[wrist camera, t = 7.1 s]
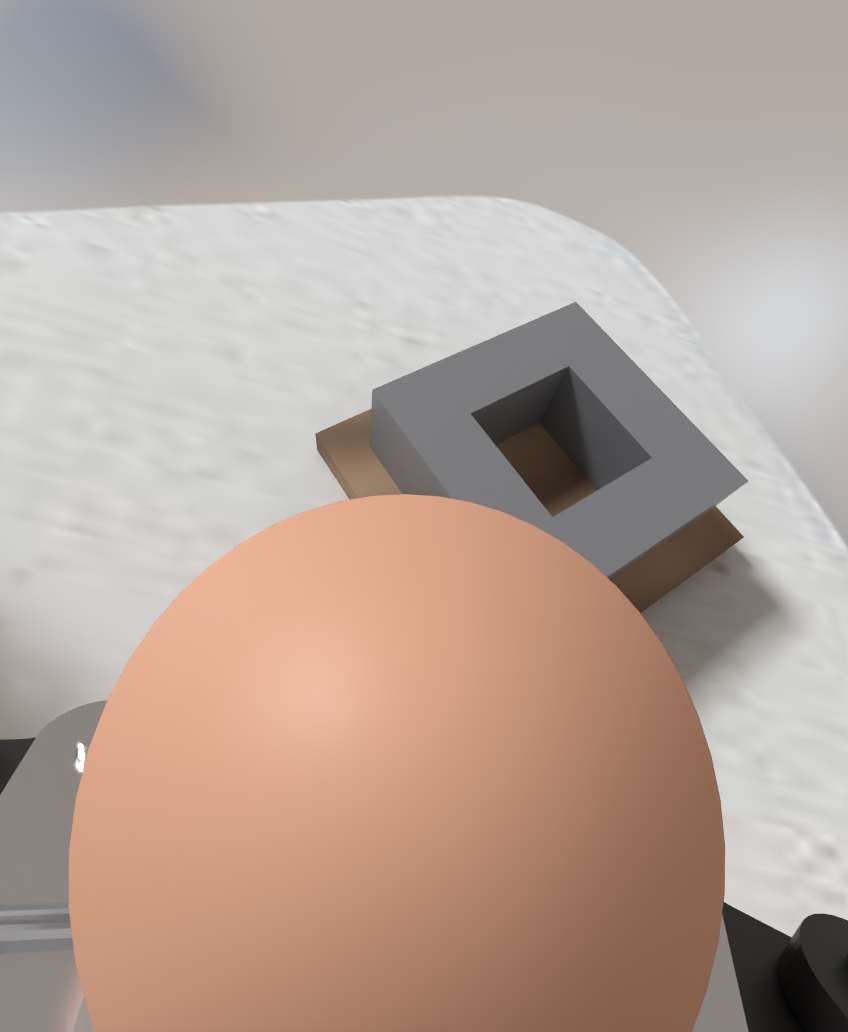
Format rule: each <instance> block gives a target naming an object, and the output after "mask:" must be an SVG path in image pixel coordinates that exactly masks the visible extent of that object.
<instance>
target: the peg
mask: <svg viewBox="0 0 848 1032" xmlns="http://www.w3.org/2000/svg"><path fill="white" fill-rule="evenodd" d="M724 891H725V841H724V831H723V821H722V811H721V801H720V796H719V791H718V786H717V781H716V776H715V771H714V767H713V762H712V757H711V754H710V751H709V747H708V744H707V741H706V738H705V735H704V732H703V729H702V725H701V722H700V719H699V716H698V714H697V711H696V709H695V707H694V705H693V702H692V700H691V698H690V695H689V693H688V691H687V689H686V686H685V684H684V682H683V679H682V677H681V676H680V674H679V672H678V670H677V669H676V667H675V665H674V663H673V662H672V660H671V658H670V656H669V655H668V653H667V651H666V649H665V648H664V646H663V644H662V643H661V641H660V640H659V638H658V637H657V636H656V634H655V633H654V631H653V630H652V629H651V627H650V626H649V624H648V623H647V622H646V620H645V619H644V617H643V616H642V615H641V613H640V612H639V611H638V610H637V609H636V608H635V607H634V605H633V604H632V603H631V602H630V601H629V600H628V599H627V598H626V596H625V595H624V594H623V593H622V592H621V591H620V590H619V589H618V587H617V586H616V585H615V584H613V583H612V582H611V581H610V580H609V579H608V578H607V577H606V576H605V575H604V574H602V573H601V572H600V571H599V570H598V569H597V568H596V567H595V566H594V565H593V564H591V563H590V562H589V561H588V560H586V559H585V558H584V557H582V556H581V555H580V554H578V553H577V552H575V551H574V550H573V549H571V548H570V547H569V546H567V545H566V544H564V543H563V542H562V541H560V540H558V539H556V538H555V537H553V536H551V535H549V534H548V533H546V532H544V531H542V530H541V529H539V528H537V527H535V526H534V525H532V524H529V523H527V522H525V521H522V520H520V519H518V518H515V517H513V516H511V515H508V514H506V513H504V512H501V511H498V510H495V509H491V508H488V507H485V506H481V505H478V504H475V503H472V502H467V501H461V500H456V499H450V498H445V497H439V496H425V495H410V494H400V495H381V496H369V497H363V498H357V499H351V500H346V501H340V502H336V503H333V504H329V505H326V506H322V507H319V508H315V509H312V510H309V511H305V512H303V513H301V514H298V515H296V516H294V517H291V518H289V519H286V520H284V521H282V522H279V523H277V524H275V525H272V526H271V527H269V528H267V529H265V530H264V531H262V532H260V533H258V534H257V535H255V536H253V537H251V538H250V539H248V540H246V541H244V542H243V543H241V544H239V545H238V546H237V547H235V548H234V549H233V550H231V551H230V552H228V553H227V554H226V555H224V556H223V557H222V558H220V559H219V560H218V561H216V562H215V563H213V564H212V565H211V566H209V567H208V568H207V569H206V570H205V571H204V572H203V573H202V574H201V575H200V576H199V577H197V578H196V579H195V580H194V581H193V582H192V583H191V584H190V585H189V586H188V587H187V588H186V589H185V590H183V591H182V592H181V593H180V594H179V595H178V597H177V598H176V599H175V600H174V601H173V602H172V604H171V605H170V606H169V607H168V608H167V609H166V610H165V612H164V613H163V614H162V615H161V616H160V617H159V619H158V620H157V621H156V622H155V623H154V624H153V626H152V627H151V629H150V630H149V631H148V633H147V634H146V636H145V637H144V639H143V640H142V642H141V643H140V645H139V646H138V648H137V649H136V651H135V652H134V654H133V655H132V657H131V658H130V659H129V661H128V662H127V664H126V666H125V668H124V670H123V672H122V674H121V676H120V678H119V680H118V682H117V683H116V685H115V687H114V689H113V691H112V693H111V695H110V697H109V699H108V701H107V703H106V705H105V707H104V710H103V713H102V715H101V718H100V720H99V723H98V726H97V728H96V731H95V733H94V736H93V739H92V741H91V744H90V746H89V749H88V753H87V757H86V761H85V765H84V769H83V772H82V776H81V780H80V784H79V788H78V792H77V796H76V801H75V809H74V816H73V824H72V832H71V839H70V847H69V914H70V922H71V930H72V939H73V947H74V955H75V963H76V967H77V970H78V974H79V978H80V982H81V986H82V989H83V993H84V997H85V1001H86V1005H87V1008H88V1012H89V1016H90V1019H91V1022H92V1024H93V1026H94V1029H95V1031H96V1032H692V1030H693V1028H694V1025H695V1022H696V1020H697V1017H698V1014H699V1012H700V1009H701V1006H702V1004H703V1001H704V998H705V996H706V993H707V989H708V984H709V980H710V976H711V972H712V968H713V964H714V960H715V956H716V951H717V947H718V943H719V935H720V926H721V918H722V910H723V902H724Z"/></svg>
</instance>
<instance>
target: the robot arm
mask: <svg viewBox="0 0 848 1032" xmlns="http://www.w3.org/2000/svg"><path fill="white" fill-rule="evenodd" d="M107 701H108V700H107ZM107 701H100V702H95V703H90V704H87V705H84V706H81V707H78V708H76V709H73V710H71V711H68V712H67V713H65V714H63V715H61V716H59V717H58V718H56V719H55V720H53V721H52V722H51V723H49V724H48V725H47V726H46V727H45V728H44V729H43V730H42V731H41V732H40V733H39V735H38V736H37V737H36V738H31V739H16V740H0V1032H96V1031H95V1029H94V1026H93V1024H92V1022H91V1019H90V1016H89V1012H88V1008H87V1005H86V1001H85V997H84V993H83V989H82V986H81V982H80V978H79V974H78V970H77V967H76V963H75V955H74V947H73V939H72V930H71V922H70V914H69V847H70V839H71V832H72V824H73V816H74V809H75V801H76V796H77V792H78V788H79V784H80V780H81V776H82V772H83V769H84V765H85V761H86V757H87V753H88V749H89V746H90V744H91V741H92V739H93V736H94V733H95V731H96V728H97V726H98V723H99V720H100V718H101V715H102V713H103V710H104V707H105V705H106V703H107ZM692 1032H848V921H847V920H845V919H842V918H839V917H836V916H833V915H828V914H813V915H810V916H808V917H807V918H805V919H804V920H803V922H802V923H801V925H800V926H799V928H798V929H797V931H796V932H795V934H794V935H793V937H790V936H788V935H786V934H784V933H782V932H780V931H778V930H776V929H774V928H772V927H770V926H768V925H766V924H764V923H762V922H761V921H759V920H757V919H755V918H753V917H751V916H749V915H747V914H745V913H743V912H741V911H739V910H737V909H735V908H733V907H732V906H730V905H728V904H726V903H725V902H723V910H722V918H721V926H720V935H719V943H718V947H717V951H716V956H715V960H714V964H713V968H712V972H711V976H710V980H709V984H708V989H707V993H706V996H705V998H704V1001H703V1004H702V1006H701V1009H700V1012H699V1014H698V1017H697V1020H696V1022H695V1025H694V1028H693V1030H692Z"/></svg>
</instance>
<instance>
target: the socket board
mask: <svg viewBox="0 0 848 1032" xmlns="http://www.w3.org/2000/svg"><path fill="white" fill-rule="evenodd" d="M371 412H372V409H370V410H368V411H365V412H363V413H361V414H359V415H356V416H354V417H352V418H350V419H347V420H345V421H343V422H341V423H338V424H336V425H334V426H332V427H329V428H327V429H325V430H323V431H320V432H318V433H316V442H317V450H318V452H319V453H320V455H321V456H322V458H323V459H324V461H325V462H326V464H327V465H328V467H329V468H330V470H331V471H332V473H333V475H334V476H335V478H336V479H337V481H338V482H339V484H340V485H341V487H342V488H343V490H344V491H345V493H346V494H347V496H348V498H349V499H350V500H351V499H357V498H363V497H369V496H381V495H400V494H402V492H401V491H400V490H399V488H398V487H397V485H396V484H395V482H394V481H393V480H392V478H391V477H390V475H389V474H388V472H387V471H386V469H385V468H384V467H383V465H382V464H381V462H380V461H379V459H378V458H377V456H376V455H375V454H374V452H373V451H372V449H371V448H370V431H371ZM496 446H497V448H498V449H499V450H500V451H501V453H502V454H503V455H504V457H505V458H506V459H507V460H508V462H509V463H510V464H511V465H512V467H513V468H514V469H515V470H516V472H517V473H518V474H519V475H520V477H521V478H522V479H523V480H524V482H525V483H526V484H527V486H528V487H529V488H530V489H531V491H532V492H533V493H534V494H535V496H536V497H537V498H538V499H539V501H540V502H541V503H542V504H543V506H544V507H545V508H546V509H547V511H548V512H549V513H550V515H551V516H552V517H554V516H556V515H557V514H559V513H561V512H562V511H564V510H566V509H567V508H569V507H571V506H572V505H574V504H576V503H577V502H579V501H581V500H582V499H584V498H586V497H587V496H589V495H591V494H592V493H594V492H596V491H597V490H596V489H595V488H594V487H593V485H592V484H591V483H590V482H589V481H588V479H587V478H586V477H585V476H584V475H583V473H582V472H581V471H580V470H579V469H578V468H577V466H576V465H575V464H574V463H573V462H572V460H571V459H570V458H569V457H568V456H567V454H566V453H565V452H564V451H563V450H562V449H561V447H560V446H559V445H558V444H557V443H556V441H555V440H554V439H553V438H552V437H551V435H550V434H549V433H548V432H547V431H546V429H545V428H544V427H543V426H542V425H541V424H540V422H539V423H537V424H535V425H533V426H532V427H530V428H528V429H526V430H524V431H522V432H520V433H518V434H516V435H514V436H512V437H510V438H508V439H506V440H504V441H502V442H501V443H499V444H497V445H496ZM742 538H744V537H743V536H742V534H741V533H740V532H739V531H738V530H737V529H736V528H735V527H734V526H733V525H732V524H731V522H730V521H729V520H728V519H727V518H726V517H725V516H724V515H723V514H722V513H721V512H720V511H719V509H718V508H717V507H716V506H715V507H713V508H712V509H711V510H709V511H708V512H707V513H705V514H704V515H703V516H701V517H700V518H699V519H697V520H696V521H695V522H693V523H692V524H691V525H689V526H688V527H686V528H685V529H683V530H682V531H681V532H679V533H678V534H676V535H675V536H673V537H672V538H670V539H669V540H667V541H666V542H664V543H663V544H661V545H660V546H659V547H657V548H656V549H654V550H653V551H651V552H650V553H648V554H647V555H645V556H644V557H642V558H641V559H639V560H638V561H637V562H635V563H634V564H632V565H631V566H629V567H628V568H626V569H625V570H623V571H622V572H620V573H619V574H617V575H616V576H615V577H613V578H612V579H610V581H611V582H612V583H613V584H615V585H616V586H617V587H618V589H619V590H620V591H621V592H622V593H623V594H624V595H625V596H626V598H627V599H628V600H629V601H630V602H631V603H632V604H633V605H634V607H635V608H636V609H637V610H638V611H639V612H640V613H641V612H642V611H643V610H645V609H646V608H647V607H649V606H650V605H652V604H653V603H654V602H656V601H657V600H658V599H660V598H661V597H663V596H664V595H665V594H667V593H668V592H669V591H671V590H672V589H674V588H675V587H676V586H678V585H679V584H680V583H682V582H683V581H685V580H686V579H687V578H689V577H690V576H691V575H693V574H694V573H696V572H697V571H698V570H700V569H701V568H702V567H704V566H705V565H706V564H708V563H709V562H711V561H712V560H713V559H715V558H716V557H717V556H719V555H720V554H722V553H723V552H724V551H726V550H727V549H728V548H730V547H731V546H733V545H734V544H735V543H737V542H738V541H739V540H741V539H742Z"/></svg>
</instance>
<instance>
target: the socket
mask: <svg viewBox="0 0 848 1032" xmlns="http://www.w3.org/2000/svg"><path fill="white" fill-rule="evenodd" d="M539 422H540V424H541V425H542V426H543V427H544V428H545V429H546V431H547V432H548V433H549V434H550V435H551V437H552V438H553V439H554V440H555V441H556V443H557V444H558V445H559V446H560V447H561V449H562V450H563V451H564V452H565V453H566V454H567V456H568V457H569V458H570V459H571V460H572V462H573V463H574V464H575V465H576V466H577V468H578V469H579V470H580V471H581V472H582V473H583V475H584V476H585V477H586V478H587V479H588V481H589V482H590V483H591V484H592V485H593V487H594V488H595V489H596V490H597V491H596V492H594V493H592V494H591V495H589V496H587V497H586V498H584V499H582V500H581V501H579V502H577V503H576V504H574V505H572V506H571V507H569V508H567V509H566V510H564V511H562V512H561V513H559V514H557V515H556V516H554V517H552V516H551V515H550V513H549V512H548V511H547V509H546V508H545V507H544V506H543V504H542V503H541V502H540V501H539V499H538V498H537V497H536V496H535V494H534V493H533V492H532V491H531V489H530V488H529V487H528V486H527V484H526V483H525V482H524V480H523V479H522V478H521V477H520V475H519V474H518V473H517V472H516V470H515V469H514V468H513V467H512V465H511V464H510V463H509V462H508V460H507V459H506V458H505V457H504V455H503V454H502V453H501V451H500V450H499V449H498V448H497V446H496V445H497V444H499V443H501V442H502V441H504V440H506V439H508V438H510V437H512V436H514V435H516V434H518V433H520V432H522V431H524V430H526V429H528V428H530V427H532V426H533V425H535V424H537V423H539ZM370 448H371V449H372V451H373V452H374V454H375V455H376V456H377V458H378V459H379V461H380V462H381V464H382V465H383V467H384V468H385V469H386V471H387V472H388V474H389V475H390V477H391V478H392V480H393V481H394V482H395V484H396V485H397V487H398V488H399V490H400V491H401V492H402V494H410V495H425V496H439V497H445V498H450V499H456V500H461V501H467V502H472V503H475V504H478V505H481V506H485V507H488V508H491V509H495V510H498V511H501V512H504V513H506V514H508V515H511V516H513V517H515V518H518V519H520V520H522V521H525V522H527V523H529V524H532V525H534V526H535V527H537V528H539V529H541V530H542V531H544V532H546V533H548V534H549V535H551V536H553V537H555V538H556V539H558V540H560V541H562V542H563V543H564V544H566V545H567V546H569V547H570V548H571V549H573V550H574V551H575V552H577V553H578V554H580V555H581V556H582V557H584V558H585V559H586V560H588V561H589V562H590V563H591V564H593V565H594V566H595V567H596V568H597V569H598V570H599V571H600V572H601V573H602V574H604V575H605V576H606V577H607V578H608V579H609V580H610V579H612V578H613V577H615V576H616V575H617V574H619V573H620V572H622V571H623V570H625V569H626V568H628V567H629V566H631V565H632V564H634V563H635V562H637V561H638V560H639V559H641V558H642V557H644V556H645V555H647V554H648V553H650V552H651V551H653V550H654V549H656V548H657V547H659V546H660V545H661V544H663V543H664V542H666V541H667V540H669V539H670V538H672V537H673V536H675V535H676V534H678V533H679V532H681V531H682V530H683V529H685V528H686V527H688V526H689V525H691V524H692V523H693V522H695V521H696V520H697V519H699V518H700V517H701V516H703V515H704V514H705V513H707V512H708V511H709V510H711V509H712V508H713V507H715V506H716V505H717V504H719V503H720V502H721V501H723V500H724V499H725V498H727V497H728V496H729V495H731V494H732V493H733V492H735V491H736V490H737V489H739V488H740V487H741V486H743V485H744V484H745V483H746V482H748V480H747V479H746V478H745V477H744V476H743V475H742V474H741V473H740V472H739V471H738V470H737V469H736V468H735V467H734V466H733V465H732V464H731V463H730V462H729V461H728V460H727V458H726V457H725V456H724V455H723V454H722V453H721V452H720V451H719V450H718V449H717V448H716V447H715V446H714V445H713V444H712V443H711V442H710V441H709V440H708V439H707V438H706V437H705V436H704V435H703V434H702V432H701V431H700V430H699V429H698V428H697V427H696V426H695V425H694V424H693V423H692V422H691V421H690V420H689V419H688V418H687V417H686V416H685V415H684V414H683V413H682V412H681V411H680V410H679V409H678V408H677V406H676V405H675V404H674V403H673V402H672V401H671V400H670V399H669V398H668V397H667V396H666V395H665V394H664V393H663V392H662V391H661V390H660V389H659V388H658V387H657V386H656V385H655V384H654V383H653V382H652V381H651V379H650V378H649V377H648V376H647V375H646V374H645V373H644V372H643V371H642V370H641V369H640V368H639V367H638V366H637V365H636V364H635V363H634V362H633V361H632V360H631V359H630V358H629V357H628V356H627V355H626V353H625V352H624V351H623V350H622V349H621V348H620V347H619V346H618V345H617V344H616V343H615V342H614V341H613V340H612V339H611V338H610V337H609V336H608V335H607V334H606V333H605V332H604V331H603V330H602V329H601V327H600V326H599V325H598V324H597V323H596V322H595V321H594V320H593V319H592V318H591V317H590V316H589V315H588V314H587V313H586V312H585V311H584V310H583V309H582V308H581V307H580V306H579V305H578V304H577V303H576V302H575V303H572V304H570V305H568V306H565V307H563V308H561V309H558V310H556V311H554V312H551V313H549V314H547V315H545V316H542V317H540V318H538V319H535V320H533V321H531V322H528V323H526V324H524V325H521V326H519V327H517V328H514V329H512V330H510V331H507V332H505V333H503V334H501V335H498V336H496V337H494V338H491V339H489V340H487V341H484V342H482V343H480V344H477V345H475V346H473V347H470V348H468V349H466V350H463V351H461V352H459V353H457V354H454V355H452V356H450V357H447V358H445V359H443V360H440V361H438V362H436V363H433V364H431V365H429V366H426V367H424V368H422V369H420V370H417V371H415V372H413V373H410V374H408V375H406V376H403V377H401V378H399V379H396V380H394V381H392V382H389V383H387V384H385V385H382V386H380V387H378V388H376V389H373V392H372V412H371V431H370Z"/></svg>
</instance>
